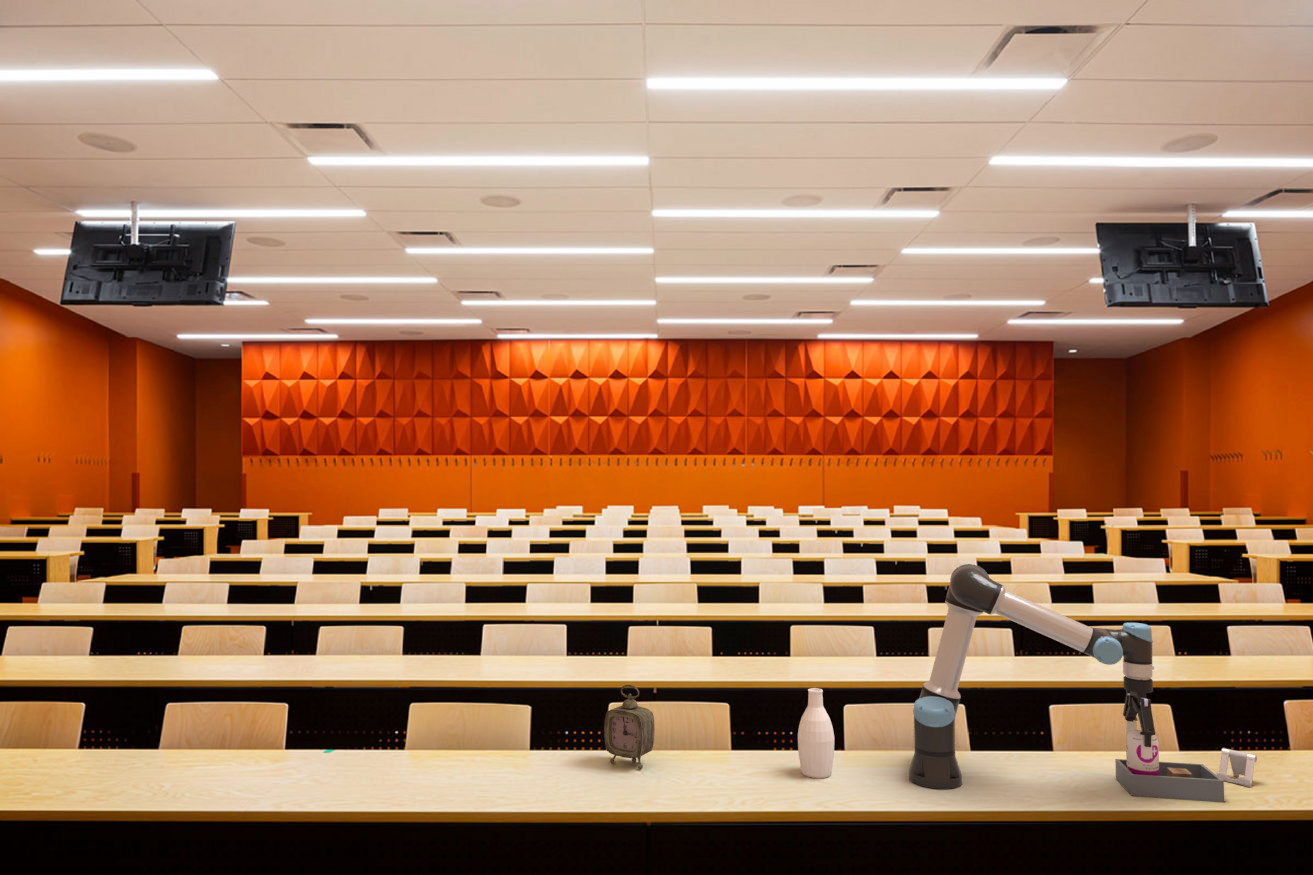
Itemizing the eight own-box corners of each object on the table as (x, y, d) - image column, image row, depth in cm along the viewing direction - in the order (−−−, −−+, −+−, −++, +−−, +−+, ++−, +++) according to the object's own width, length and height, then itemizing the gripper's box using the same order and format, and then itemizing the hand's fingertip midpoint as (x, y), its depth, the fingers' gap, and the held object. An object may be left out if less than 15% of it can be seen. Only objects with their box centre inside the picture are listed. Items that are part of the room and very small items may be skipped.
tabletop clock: (603, 764, 274) (603, 684, 275) (619, 756, 281) (619, 679, 283) (642, 772, 266) (642, 690, 267) (657, 764, 274) (657, 684, 275)
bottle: (820, 765, 272) (819, 684, 273) (842, 776, 262) (841, 691, 263) (790, 770, 267) (790, 687, 268) (812, 782, 257) (811, 695, 258)
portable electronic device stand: (1216, 780, 258) (1215, 751, 258) (1226, 774, 263) (1225, 746, 263) (1249, 788, 251) (1248, 758, 251) (1259, 782, 256) (1258, 753, 256)
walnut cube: (1173, 790, 246) (1172, 772, 247) (1167, 784, 251) (1166, 767, 252) (1193, 792, 245) (1192, 774, 246) (1186, 786, 250) (1185, 768, 250)
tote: (1131, 795, 245) (1131, 774, 245) (1115, 778, 259) (1115, 758, 259) (1224, 801, 240) (1223, 780, 240) (1203, 784, 254) (1202, 764, 254)
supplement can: (1164, 791, 246) (1162, 738, 246) (1132, 789, 247) (1131, 736, 248) (1153, 781, 254) (1151, 729, 254) (1122, 779, 255) (1121, 728, 256)
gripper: (1167, 687, 240) (1168, 765, 239) (1137, 668, 264) (1138, 738, 263) (1137, 685, 242) (1138, 762, 241) (1111, 667, 266) (1112, 736, 265)
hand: (1138, 750), depth 252 cm, fingers open, 13 cm apart
